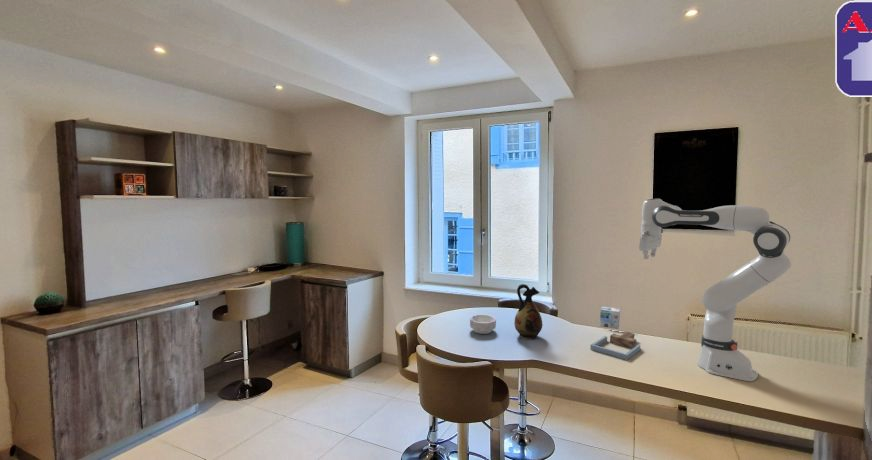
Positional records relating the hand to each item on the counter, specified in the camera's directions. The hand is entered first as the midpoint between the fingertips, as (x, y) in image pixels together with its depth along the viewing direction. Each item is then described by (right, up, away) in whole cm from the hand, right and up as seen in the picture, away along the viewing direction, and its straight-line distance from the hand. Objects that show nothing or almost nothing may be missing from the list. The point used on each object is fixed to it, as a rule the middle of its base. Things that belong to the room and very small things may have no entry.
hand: (649, 257), depth 204 cm
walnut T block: (-6, -47, +13) cm, 49 cm away
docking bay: (-15, -48, +5) cm, 51 cm away
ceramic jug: (-57, -47, +24) cm, 77 cm away
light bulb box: (-4, -44, +39) cm, 59 cm away
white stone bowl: (-81, -46, +33) cm, 99 cm away
